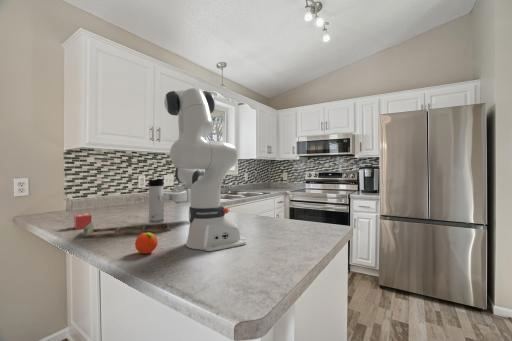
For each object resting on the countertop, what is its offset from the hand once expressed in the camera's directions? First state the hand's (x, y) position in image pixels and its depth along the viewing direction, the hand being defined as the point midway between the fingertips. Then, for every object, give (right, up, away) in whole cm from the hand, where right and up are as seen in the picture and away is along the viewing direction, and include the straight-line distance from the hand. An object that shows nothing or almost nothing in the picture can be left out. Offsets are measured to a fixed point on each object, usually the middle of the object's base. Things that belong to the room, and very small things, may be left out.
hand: (154, 197), depth 115 cm
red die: (-35, -15, +3) cm, 38 cm away
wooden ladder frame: (-9, -15, -3) cm, 18 cm away
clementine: (+11, -15, -32) cm, 37 cm away
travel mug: (+1, -12, +1) cm, 12 cm away
